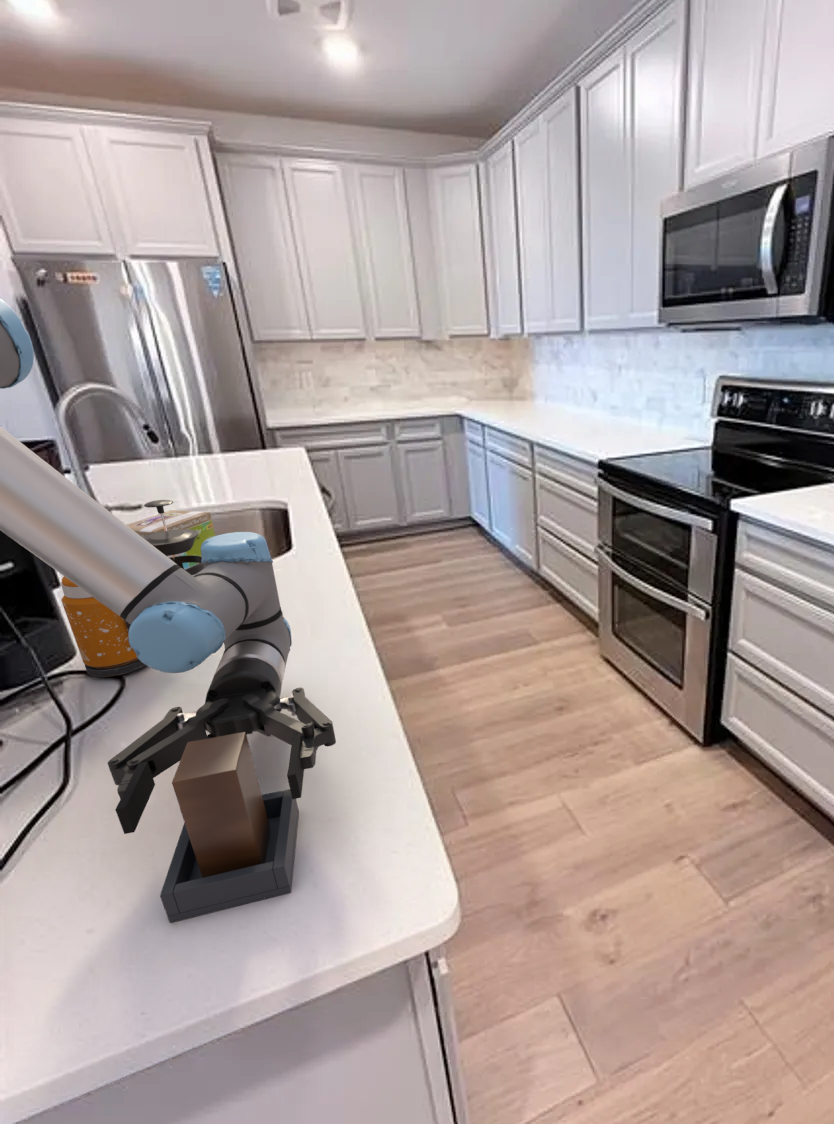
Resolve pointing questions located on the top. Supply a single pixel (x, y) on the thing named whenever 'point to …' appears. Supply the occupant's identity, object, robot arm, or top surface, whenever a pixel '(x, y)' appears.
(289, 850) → the socket pad
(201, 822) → the brown rectangular block
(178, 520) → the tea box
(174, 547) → the french press
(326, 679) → the top surface
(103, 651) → the canister
